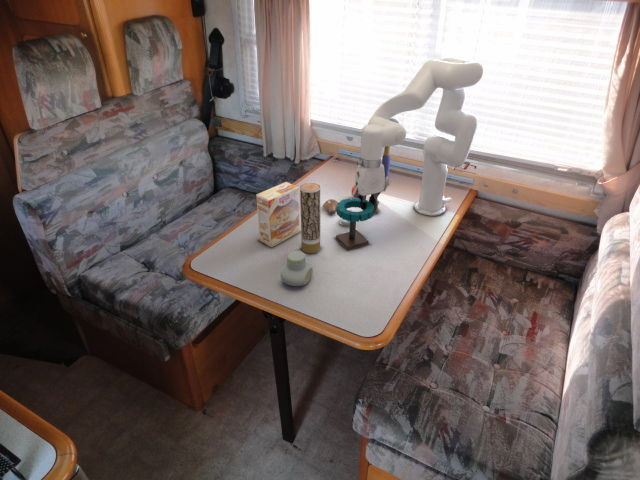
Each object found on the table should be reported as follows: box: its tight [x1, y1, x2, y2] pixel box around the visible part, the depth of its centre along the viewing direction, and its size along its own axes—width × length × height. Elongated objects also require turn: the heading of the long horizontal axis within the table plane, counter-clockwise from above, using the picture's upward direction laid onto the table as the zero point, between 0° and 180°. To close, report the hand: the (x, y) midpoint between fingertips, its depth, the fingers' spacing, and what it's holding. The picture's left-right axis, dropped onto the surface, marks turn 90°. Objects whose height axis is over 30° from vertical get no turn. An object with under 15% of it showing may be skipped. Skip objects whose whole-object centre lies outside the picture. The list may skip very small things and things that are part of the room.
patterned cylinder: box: [299, 182, 321, 254], centre depth 156 cm, size 7×7×25 cm
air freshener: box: [279, 250, 314, 287], centre depth 144 cm, size 11×8×10 cm
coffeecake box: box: [255, 181, 300, 248], centre depth 164 cm, size 15×7×20 cm, turn 137°
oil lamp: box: [322, 198, 340, 216], centre depth 186 cm, size 9×4×8 cm
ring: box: [336, 197, 375, 223], centre depth 160 cm, size 13×13×3 cm
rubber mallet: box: [382, 117, 400, 183], centre depth 201 cm, size 12×8×30 cm, turn 156°
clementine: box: [350, 184, 359, 198], centre depth 195 cm, size 8×7×7 cm
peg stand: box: [335, 220, 370, 251], centre depth 164 cm, size 9×9×10 cm
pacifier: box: [338, 209, 354, 226], centre depth 177 cm, size 7×6×6 cm
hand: (367, 208), depth 162 cm, fingers closed on ring, 2 cm apart
